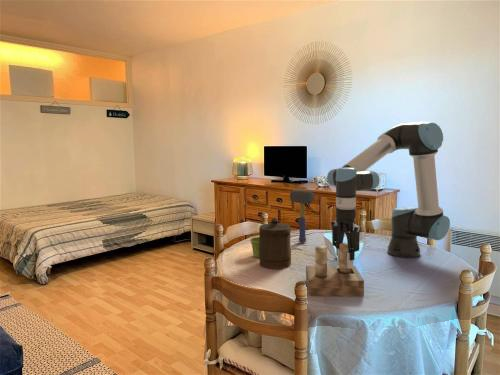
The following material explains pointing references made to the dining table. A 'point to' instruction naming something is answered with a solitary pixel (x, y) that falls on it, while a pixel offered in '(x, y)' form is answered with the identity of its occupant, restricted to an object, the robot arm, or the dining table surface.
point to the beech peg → (344, 259)
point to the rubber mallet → (302, 208)
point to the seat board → (332, 278)
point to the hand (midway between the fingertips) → (345, 265)
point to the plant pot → (255, 246)
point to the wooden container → (275, 245)
